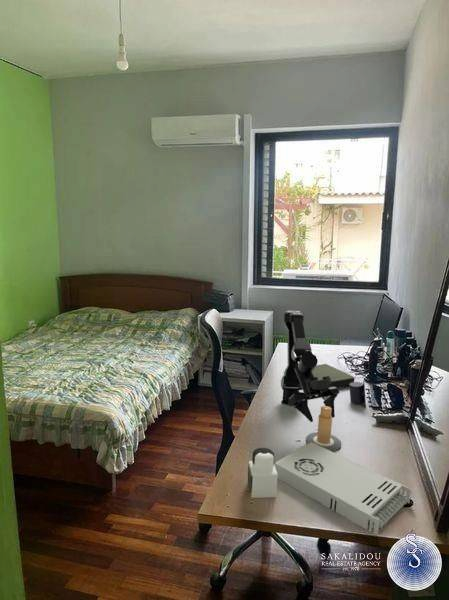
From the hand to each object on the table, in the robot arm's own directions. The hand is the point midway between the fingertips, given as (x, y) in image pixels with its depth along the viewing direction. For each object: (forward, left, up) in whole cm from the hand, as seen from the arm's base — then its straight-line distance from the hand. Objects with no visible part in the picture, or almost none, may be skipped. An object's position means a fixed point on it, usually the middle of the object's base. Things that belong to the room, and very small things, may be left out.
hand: (323, 419), depth 147 cm
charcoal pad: (+1, -1, -8) cm, 8 cm away
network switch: (-10, +58, -9) cm, 60 cm away
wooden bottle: (+1, -1, -7) cm, 7 cm away
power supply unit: (+10, -25, -9) cm, 29 cm away
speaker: (+8, +39, -8) cm, 41 cm away
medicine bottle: (-10, -36, -8) cm, 38 cm away
